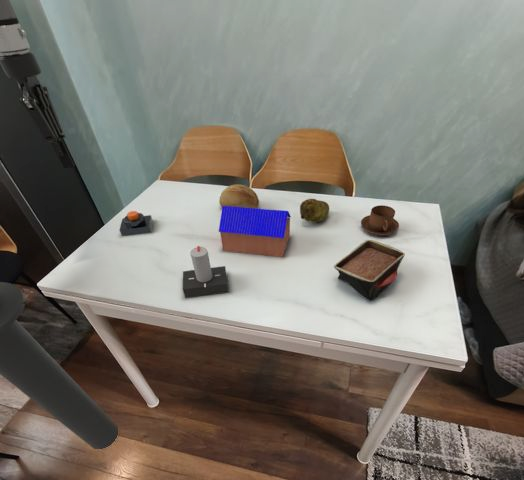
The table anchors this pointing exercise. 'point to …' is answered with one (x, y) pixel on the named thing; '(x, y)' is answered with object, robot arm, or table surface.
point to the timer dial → (201, 264)
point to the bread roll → (239, 197)
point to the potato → (314, 210)
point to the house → (254, 230)
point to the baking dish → (370, 268)
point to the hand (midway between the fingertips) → (69, 166)
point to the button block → (136, 225)
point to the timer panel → (205, 283)
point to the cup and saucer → (380, 221)
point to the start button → (133, 215)
